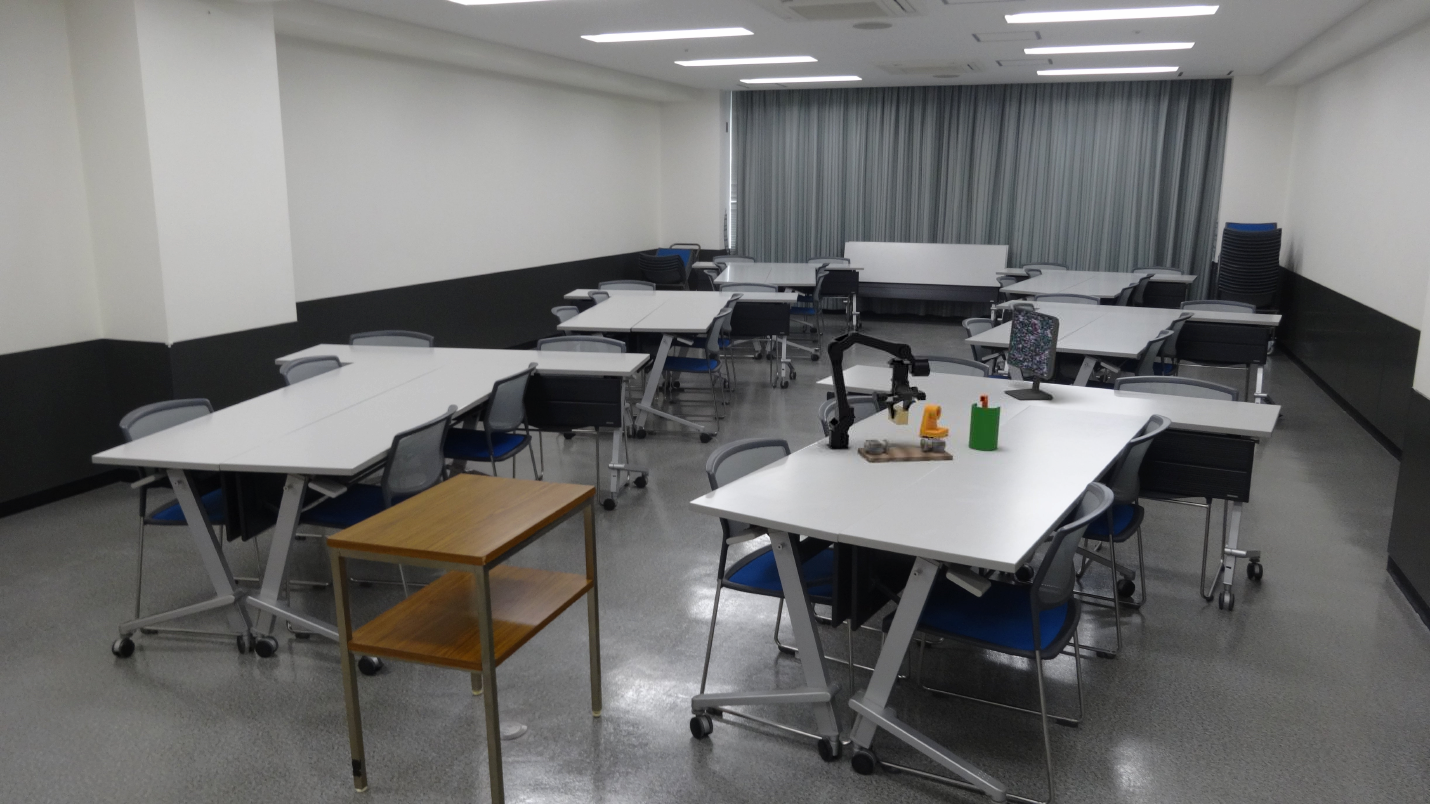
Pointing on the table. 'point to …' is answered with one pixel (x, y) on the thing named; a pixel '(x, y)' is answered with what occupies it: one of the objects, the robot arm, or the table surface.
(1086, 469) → the table surface
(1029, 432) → the table surface
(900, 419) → the block
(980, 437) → the green tall cylinder
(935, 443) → the shaft mount
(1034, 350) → the computer monitor
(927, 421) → the bracket
